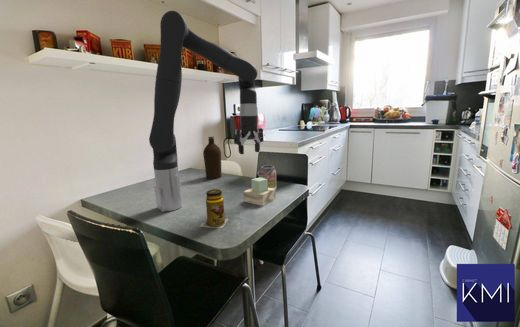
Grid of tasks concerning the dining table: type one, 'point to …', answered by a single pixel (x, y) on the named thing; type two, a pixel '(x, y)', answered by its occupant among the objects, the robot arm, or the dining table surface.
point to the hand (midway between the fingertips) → (249, 153)
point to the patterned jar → (268, 175)
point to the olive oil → (212, 160)
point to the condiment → (214, 210)
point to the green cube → (259, 184)
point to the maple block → (259, 196)
